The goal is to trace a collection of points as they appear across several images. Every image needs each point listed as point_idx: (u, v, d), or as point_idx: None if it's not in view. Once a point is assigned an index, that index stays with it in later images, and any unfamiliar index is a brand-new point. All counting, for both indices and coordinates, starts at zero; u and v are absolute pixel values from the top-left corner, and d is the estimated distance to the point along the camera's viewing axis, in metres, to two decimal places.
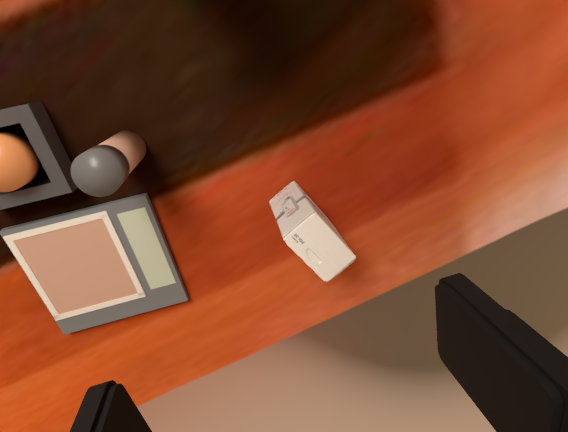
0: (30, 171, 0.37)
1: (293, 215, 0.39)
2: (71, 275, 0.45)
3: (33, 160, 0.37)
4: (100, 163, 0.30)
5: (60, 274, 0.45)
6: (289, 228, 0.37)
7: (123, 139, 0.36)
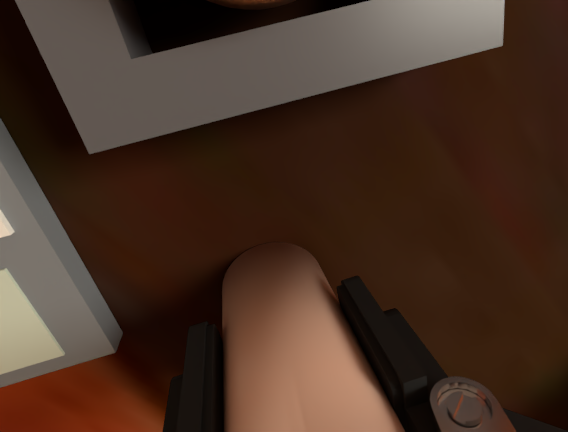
0: None
1: None
2: None
3: None
4: None
5: None
6: None
7: None
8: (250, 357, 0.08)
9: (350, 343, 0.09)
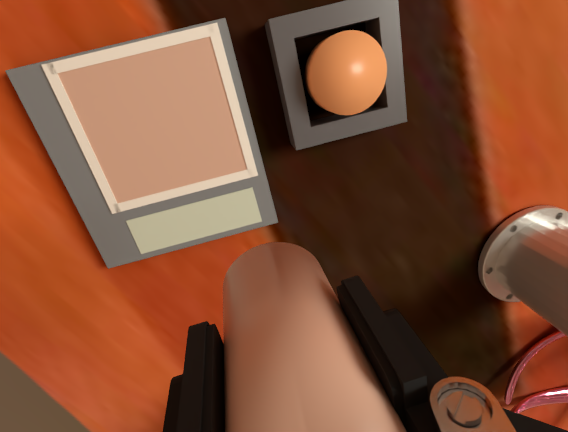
0: (334, 112, 0.27)
1: None
2: (146, 110, 0.28)
3: None
4: None
5: (146, 93, 0.27)
6: None
7: None
8: (252, 357, 0.08)
9: (351, 343, 0.08)
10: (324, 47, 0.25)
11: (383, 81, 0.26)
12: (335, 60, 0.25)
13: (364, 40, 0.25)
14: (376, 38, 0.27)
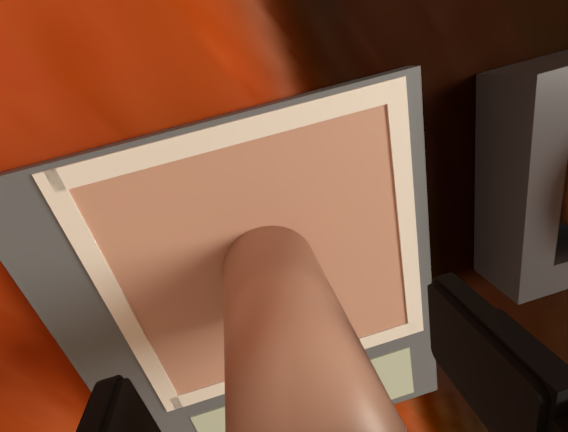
0: None
1: None
2: None
3: None
4: None
5: (247, 213, 0.14)
6: None
7: None
8: (247, 316, 0.09)
9: (334, 305, 0.10)
10: None
11: None
12: None
13: None
14: None
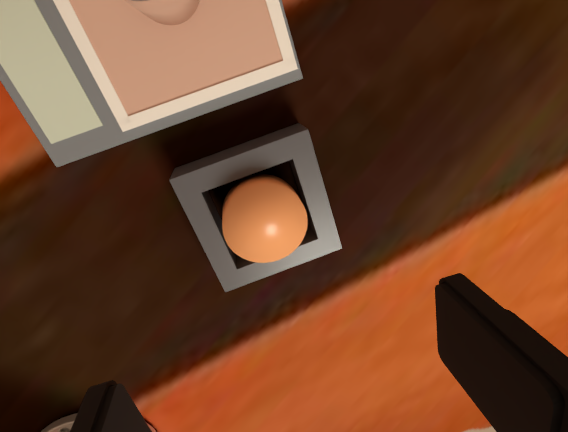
0: (223, 218, 0.23)
1: None
2: None
3: None
4: None
5: None
6: None
7: (142, 11, 0.17)
8: None
9: None
10: (288, 194, 0.23)
11: (263, 260, 0.25)
12: (278, 208, 0.23)
13: (299, 232, 0.24)
14: None
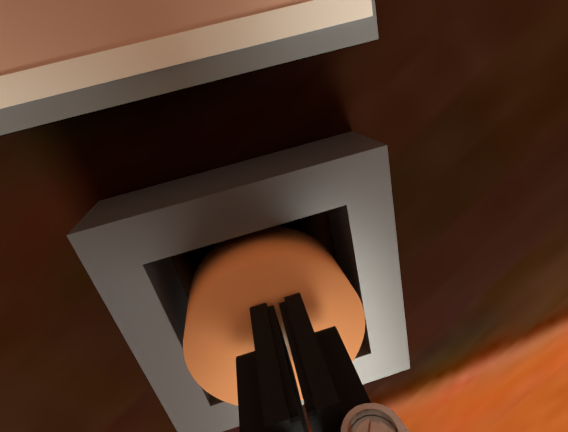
0: (186, 322, 0.11)
1: None
2: None
3: None
4: None
5: None
6: None
7: None
8: None
9: None
10: (334, 281, 0.11)
11: None
12: (309, 308, 0.11)
13: None
14: None
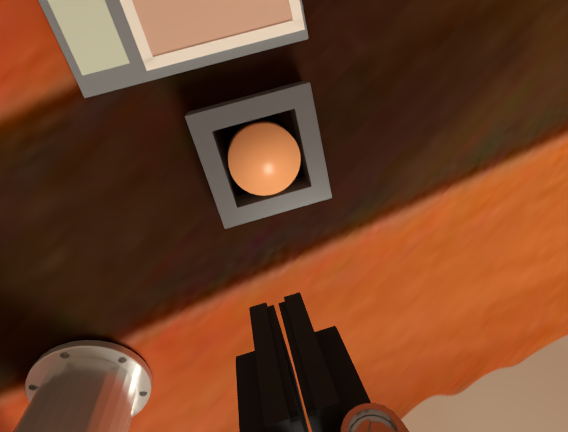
0: (229, 151, 0.28)
1: None
2: None
3: None
4: None
5: None
6: None
7: None
8: None
9: None
10: (286, 135, 0.27)
11: (260, 193, 0.29)
12: (276, 146, 0.28)
13: (292, 171, 0.29)
14: (294, 187, 0.31)
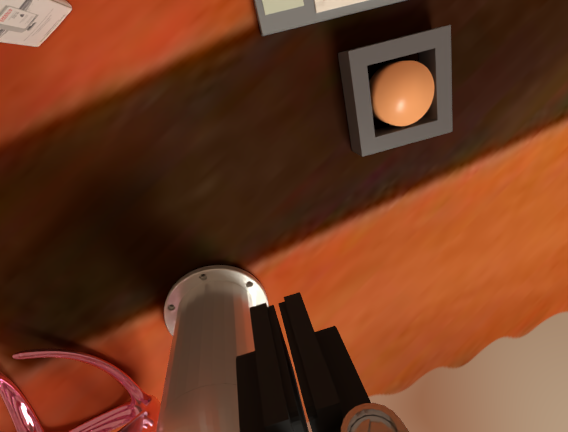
0: (377, 84, 0.32)
1: None
2: None
3: (371, 95, 0.34)
4: None
5: None
6: None
7: None
8: None
9: None
10: (426, 71, 0.32)
11: (397, 124, 0.34)
12: (416, 81, 0.33)
13: (426, 104, 0.34)
14: (420, 122, 0.35)
